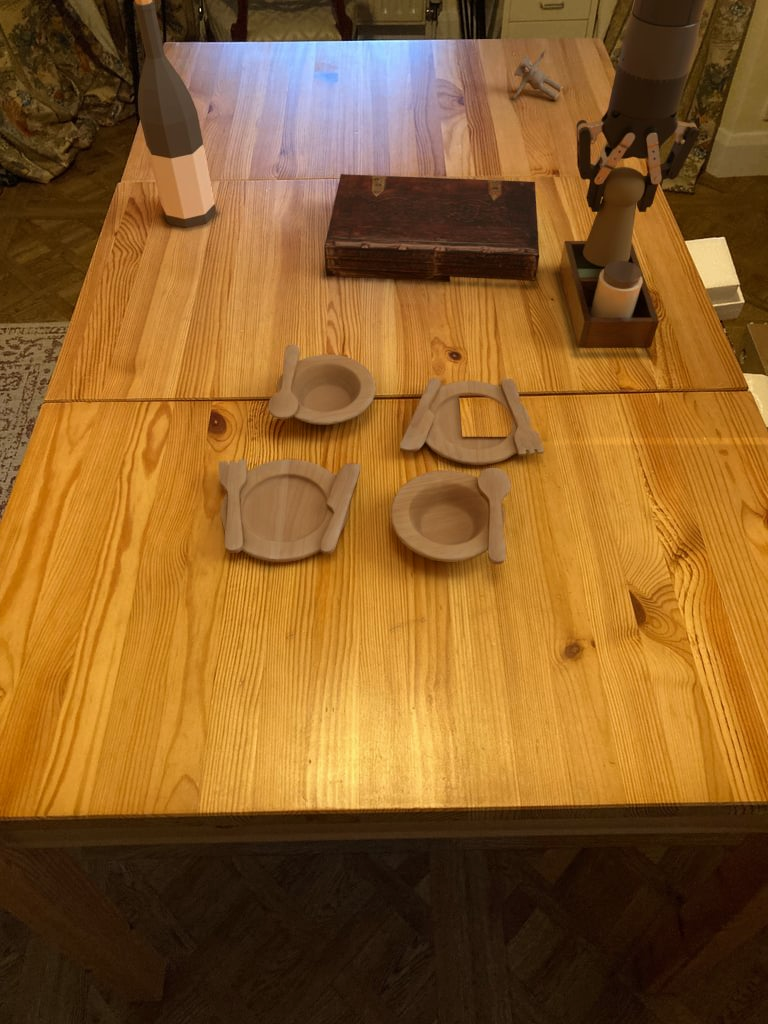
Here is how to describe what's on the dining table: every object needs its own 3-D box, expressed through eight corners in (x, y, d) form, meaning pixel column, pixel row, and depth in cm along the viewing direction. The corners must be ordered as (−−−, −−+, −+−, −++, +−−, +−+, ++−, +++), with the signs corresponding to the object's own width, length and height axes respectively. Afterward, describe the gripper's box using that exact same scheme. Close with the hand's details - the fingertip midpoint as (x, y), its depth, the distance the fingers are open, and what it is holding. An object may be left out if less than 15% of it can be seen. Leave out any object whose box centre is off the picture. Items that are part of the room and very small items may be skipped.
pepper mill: (638, 261, 99) (662, 179, 91) (598, 271, 98) (618, 189, 89) (613, 237, 103) (633, 156, 94) (574, 246, 101) (591, 165, 93)
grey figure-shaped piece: (544, 112, 138) (503, 84, 138) (541, 125, 144) (501, 97, 144) (578, 62, 137) (536, 33, 137) (573, 77, 143) (533, 49, 143)
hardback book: (326, 276, 108) (323, 244, 104) (342, 205, 119) (340, 174, 115) (534, 286, 106) (539, 254, 102) (530, 212, 118) (535, 181, 114)
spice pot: (624, 312, 101) (640, 258, 95) (632, 337, 98) (648, 283, 91) (584, 312, 101) (597, 258, 95) (591, 337, 98) (605, 283, 91)
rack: (622, 272, 108) (631, 240, 104) (648, 353, 97) (659, 321, 93) (558, 272, 108) (564, 240, 104) (576, 353, 97) (584, 321, 93)
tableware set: (192, 557, 78) (184, 533, 75) (260, 366, 96) (255, 340, 93) (540, 596, 75) (546, 572, 72) (542, 391, 93) (548, 366, 90)
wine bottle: (159, 228, 115) (101, 0, 92) (167, 200, 120) (113, -23, 97) (213, 227, 115) (169, -1, 92) (219, 199, 120) (178, -24, 97)
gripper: (593, 76, 80) (563, 225, 93) (731, 76, 80) (682, 225, 93) (581, 47, 84) (555, 193, 98) (712, 46, 84) (668, 192, 98)
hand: (617, 208), depth 95 cm, fingers closed on pepper mill, 5 cm apart
